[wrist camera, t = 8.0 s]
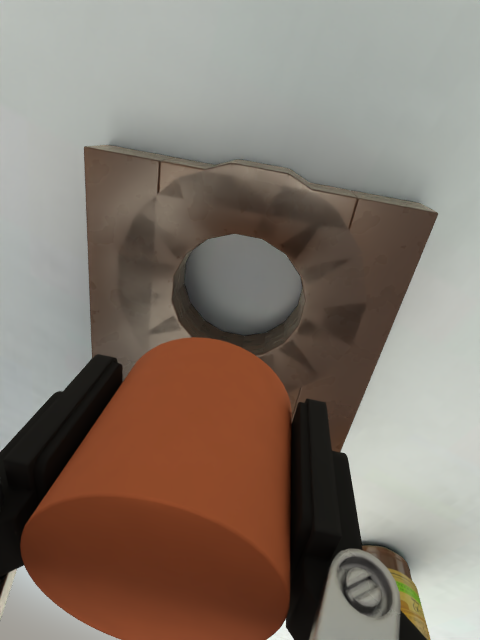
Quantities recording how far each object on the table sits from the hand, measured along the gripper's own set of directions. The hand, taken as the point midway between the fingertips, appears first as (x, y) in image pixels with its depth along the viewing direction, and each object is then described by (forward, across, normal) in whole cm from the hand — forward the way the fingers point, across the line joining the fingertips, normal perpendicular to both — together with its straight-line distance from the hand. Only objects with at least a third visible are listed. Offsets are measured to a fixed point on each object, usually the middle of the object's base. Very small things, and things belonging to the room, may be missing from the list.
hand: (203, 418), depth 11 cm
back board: (+11, 0, +2) cm, 12 cm away
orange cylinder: (0, 0, 0) cm, 0 cm away
